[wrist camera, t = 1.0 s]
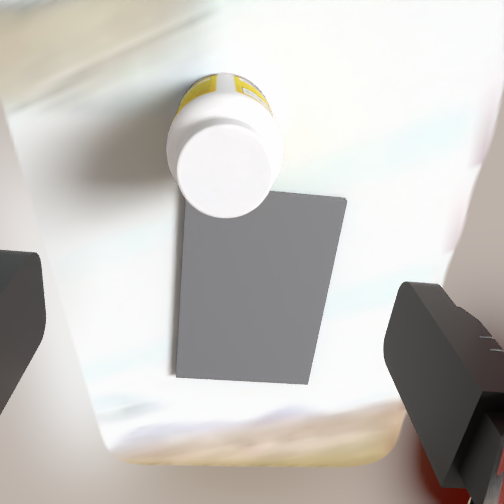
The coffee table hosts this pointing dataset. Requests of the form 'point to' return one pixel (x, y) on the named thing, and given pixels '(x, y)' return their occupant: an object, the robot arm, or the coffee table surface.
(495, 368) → the robot arm
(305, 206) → the rubber mat
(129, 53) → the coffee table surface
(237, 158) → the supplement bottle
